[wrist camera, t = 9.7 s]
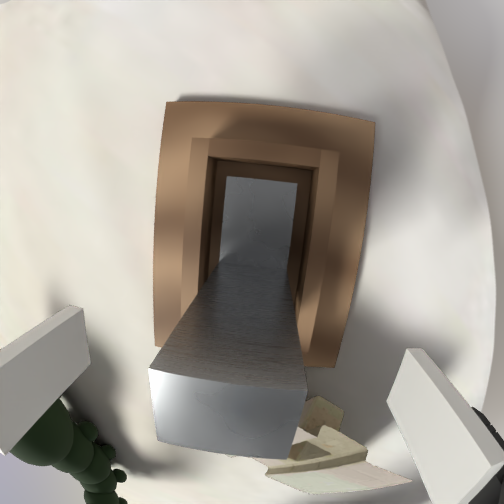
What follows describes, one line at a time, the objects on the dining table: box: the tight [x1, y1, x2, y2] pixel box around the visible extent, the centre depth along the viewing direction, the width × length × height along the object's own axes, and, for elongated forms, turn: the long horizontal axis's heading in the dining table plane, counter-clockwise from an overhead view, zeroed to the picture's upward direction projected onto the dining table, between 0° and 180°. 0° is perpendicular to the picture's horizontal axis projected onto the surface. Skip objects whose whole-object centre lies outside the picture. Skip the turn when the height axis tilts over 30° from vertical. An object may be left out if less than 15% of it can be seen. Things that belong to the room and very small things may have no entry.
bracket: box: [148, 176, 308, 460], centre depth 13 cm, size 8×4×13 cm, turn 174°
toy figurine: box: [9, 394, 127, 504], centre depth 17 cm, size 9×19×25 cm
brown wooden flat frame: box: [153, 101, 375, 368], centre depth 18 cm, size 18×14×4 cm
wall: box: [225, 396, 412, 494], centre depth 21 cm, size 16×9×15 cm
